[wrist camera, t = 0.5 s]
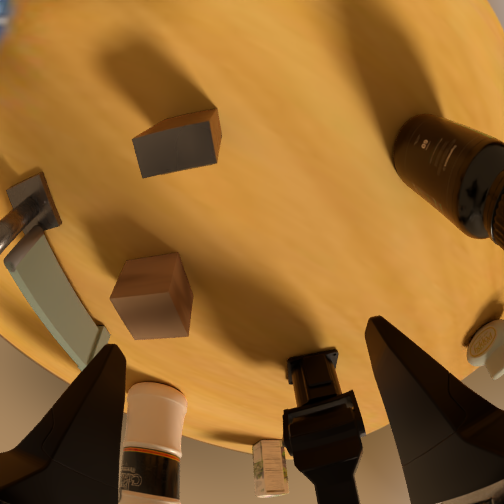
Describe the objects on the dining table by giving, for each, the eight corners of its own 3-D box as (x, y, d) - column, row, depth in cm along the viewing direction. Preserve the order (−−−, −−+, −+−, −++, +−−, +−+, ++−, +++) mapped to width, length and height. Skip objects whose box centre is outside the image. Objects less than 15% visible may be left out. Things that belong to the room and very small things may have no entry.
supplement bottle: (422, 95, 16) (544, 137, 6) (460, 150, 19) (557, 212, 9) (375, 154, 19) (482, 234, 9) (419, 202, 22) (505, 287, 12)
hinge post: (62, 222, 20) (21, 271, 14) (28, 233, 20) (-10, 277, 15) (42, 171, 17) (-9, 210, 12) (9, 187, 17) (-37, 225, 12)
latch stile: (223, 142, 18) (218, 173, 12) (172, 152, 18) (145, 188, 12) (217, 108, 17) (209, 120, 11) (165, 119, 17) (132, 139, 11)
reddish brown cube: (193, 295, 26) (188, 336, 22) (145, 300, 26) (134, 340, 22) (178, 251, 23) (168, 292, 19) (126, 260, 23) (109, 298, 19)
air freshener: (494, 308, 34) (521, 348, 26) (505, 315, 36) (528, 350, 28) (456, 350, 39) (477, 390, 31) (470, 351, 41) (489, 387, 33)
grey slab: (33, 222, 20) (0, 259, 15) (45, 218, 20) (11, 256, 15) (98, 335, 28) (85, 375, 24) (110, 335, 28) (97, 375, 23)
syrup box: (273, 445, 56) (279, 496, 44) (251, 445, 55) (255, 497, 43) (283, 439, 53) (290, 493, 41) (259, 439, 52) (265, 495, 40)
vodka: (176, 410, 41) (173, 567, 16) (124, 394, 37) (108, 559, 13) (197, 391, 36) (199, 581, 12) (136, 372, 33) (118, 575, 8)
